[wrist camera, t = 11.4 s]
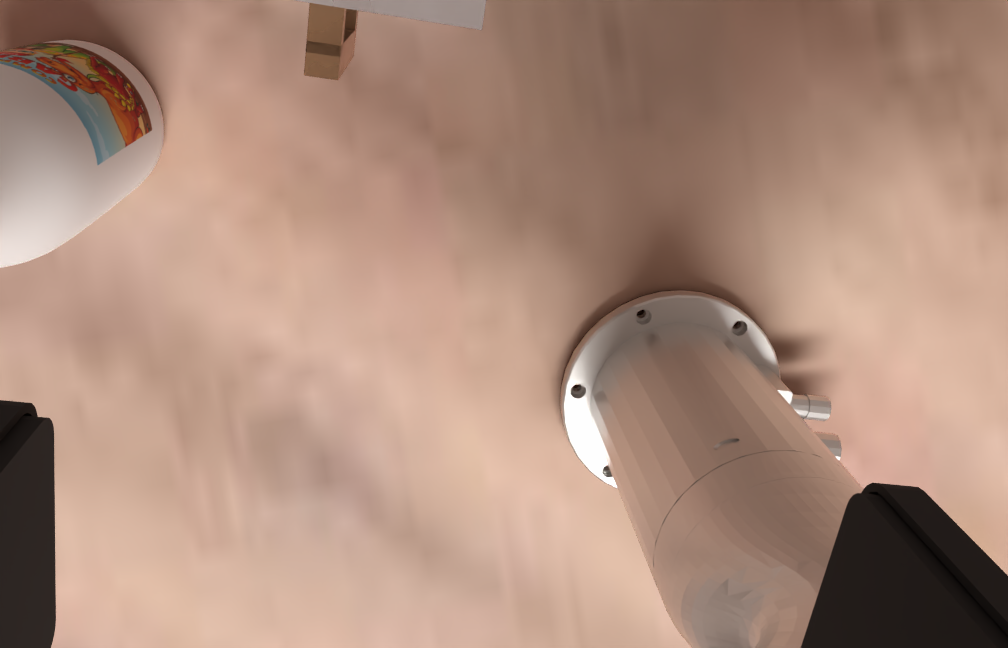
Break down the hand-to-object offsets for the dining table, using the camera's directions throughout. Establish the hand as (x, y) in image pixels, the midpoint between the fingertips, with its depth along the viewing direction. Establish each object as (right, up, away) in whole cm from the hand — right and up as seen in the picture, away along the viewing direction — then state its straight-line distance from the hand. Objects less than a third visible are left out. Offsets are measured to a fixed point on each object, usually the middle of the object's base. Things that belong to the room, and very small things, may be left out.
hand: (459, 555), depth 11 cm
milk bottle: (-20, +13, +35) cm, 42 cm away
